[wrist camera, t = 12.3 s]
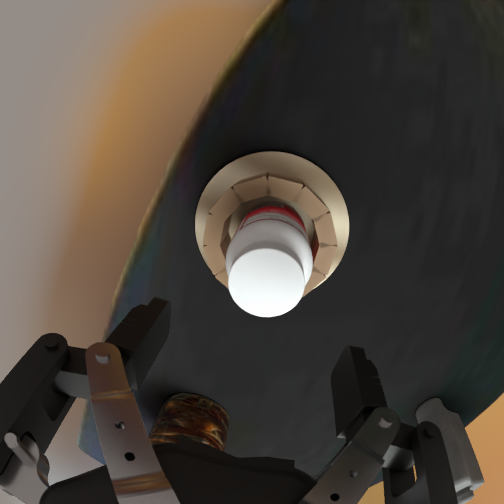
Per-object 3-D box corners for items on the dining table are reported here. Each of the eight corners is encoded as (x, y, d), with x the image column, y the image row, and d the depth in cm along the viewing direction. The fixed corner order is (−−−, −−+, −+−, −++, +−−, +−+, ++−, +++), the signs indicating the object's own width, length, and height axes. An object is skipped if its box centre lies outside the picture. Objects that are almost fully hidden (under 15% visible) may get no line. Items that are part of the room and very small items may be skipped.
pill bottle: (273, 273, 29) (266, 342, 19) (227, 231, 28) (195, 284, 18) (318, 231, 27) (338, 284, 17) (272, 185, 26) (264, 213, 16)
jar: (148, 394, 40) (114, 466, 26) (210, 388, 37) (183, 476, 24) (184, 434, 44) (163, 500, 30) (242, 431, 41) (229, 507, 27)
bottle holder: (212, 136, 25) (198, 135, 21) (365, 176, 25) (381, 182, 21) (188, 276, 31) (173, 298, 27) (320, 309, 31) (325, 335, 26)
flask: (406, 413, 37) (432, 512, 18) (434, 393, 35) (470, 492, 16) (438, 432, 39) (461, 509, 20) (461, 415, 37) (490, 492, 18)
